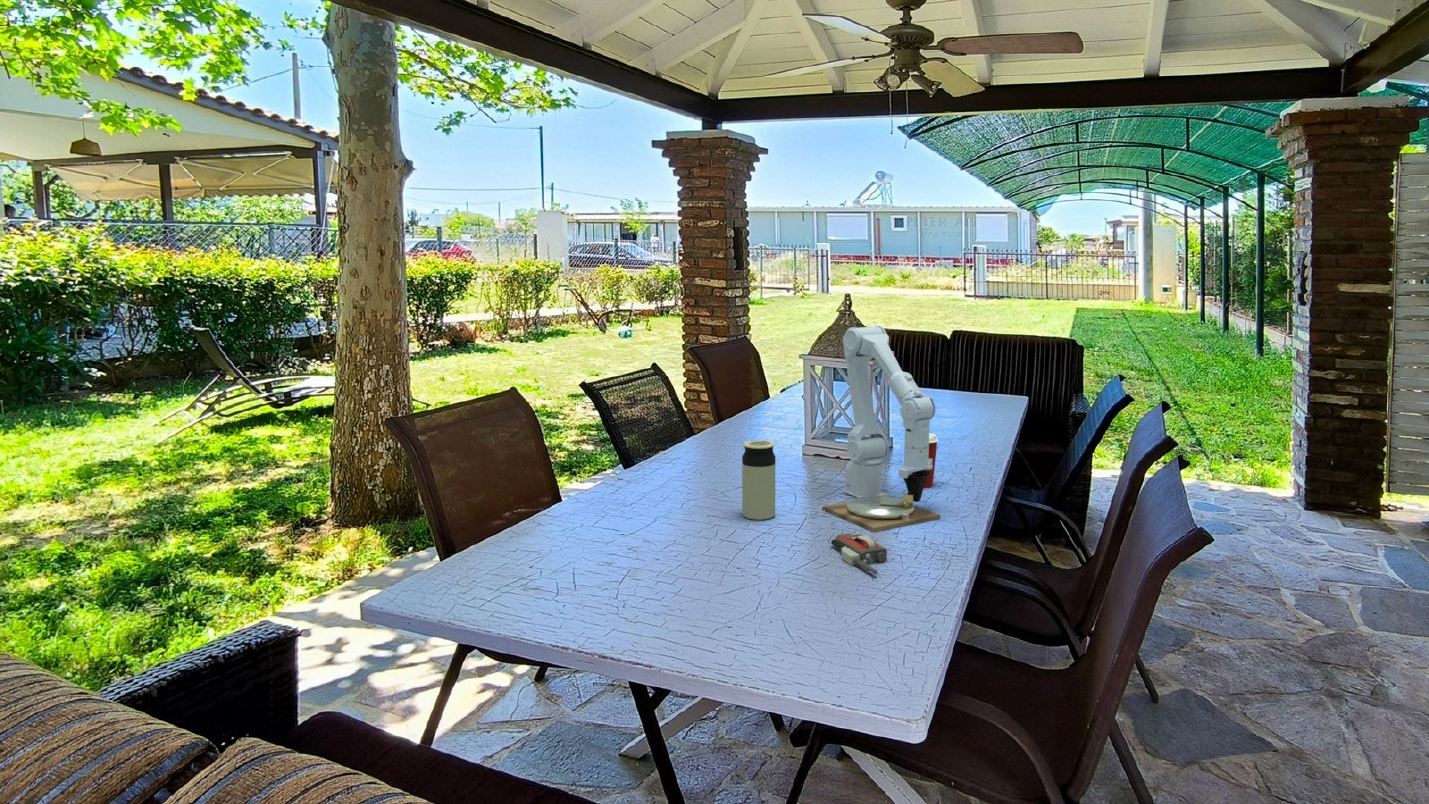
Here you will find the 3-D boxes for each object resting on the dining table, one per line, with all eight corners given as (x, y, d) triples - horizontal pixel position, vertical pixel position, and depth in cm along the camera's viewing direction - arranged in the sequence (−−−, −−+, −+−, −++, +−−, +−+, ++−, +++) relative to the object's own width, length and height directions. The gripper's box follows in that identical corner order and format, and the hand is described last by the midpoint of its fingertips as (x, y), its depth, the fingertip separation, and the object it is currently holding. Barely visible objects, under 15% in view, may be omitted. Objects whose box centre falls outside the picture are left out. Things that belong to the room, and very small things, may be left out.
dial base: (822, 510, 216) (822, 500, 215) (885, 498, 225) (885, 489, 225) (874, 532, 198) (874, 522, 198) (940, 518, 208) (940, 509, 207)
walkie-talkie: (822, 548, 189) (871, 580, 170) (822, 529, 188) (871, 559, 170) (857, 543, 192) (909, 574, 173) (857, 524, 191) (910, 553, 173)
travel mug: (781, 515, 212) (782, 443, 208) (760, 522, 206) (760, 448, 203) (756, 509, 217) (756, 438, 214) (735, 516, 211) (735, 443, 208)
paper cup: (940, 484, 239) (942, 434, 236) (931, 490, 232) (933, 439, 230) (912, 480, 243) (914, 431, 240) (903, 486, 236) (904, 436, 234)
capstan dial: (842, 516, 206) (843, 499, 205) (851, 498, 221) (851, 481, 220) (911, 521, 202) (912, 503, 201) (915, 502, 217) (916, 486, 216)
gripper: (918, 454, 202) (917, 510, 204) (944, 443, 213) (942, 496, 215) (891, 450, 206) (889, 505, 209) (918, 439, 217) (916, 492, 220)
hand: (914, 500), depth 212 cm, fingers closed
